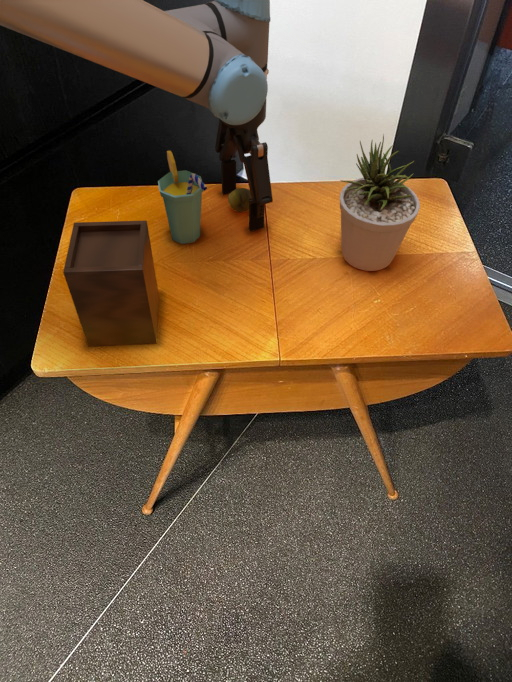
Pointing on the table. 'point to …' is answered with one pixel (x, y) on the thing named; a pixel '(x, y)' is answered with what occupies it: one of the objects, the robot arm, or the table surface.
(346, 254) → the potted plant
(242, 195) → the lime
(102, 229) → the dark brown box
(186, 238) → the cup
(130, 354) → the table surface
